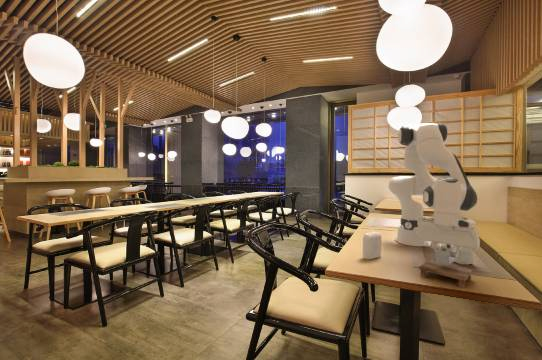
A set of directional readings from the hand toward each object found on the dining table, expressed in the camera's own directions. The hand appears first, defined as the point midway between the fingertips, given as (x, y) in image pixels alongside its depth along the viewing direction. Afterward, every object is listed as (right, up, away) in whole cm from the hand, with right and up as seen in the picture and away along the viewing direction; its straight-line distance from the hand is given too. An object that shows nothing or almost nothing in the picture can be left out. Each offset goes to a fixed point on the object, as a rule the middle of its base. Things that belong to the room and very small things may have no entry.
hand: (445, 255), depth 103 cm
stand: (0, -9, 0) cm, 9 cm away
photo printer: (-19, -8, +25) cm, 32 cm away
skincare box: (+20, -9, +20) cm, 30 cm away
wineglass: (+10, -9, +16) cm, 21 cm away
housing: (0, -2, 0) cm, 2 cm away
